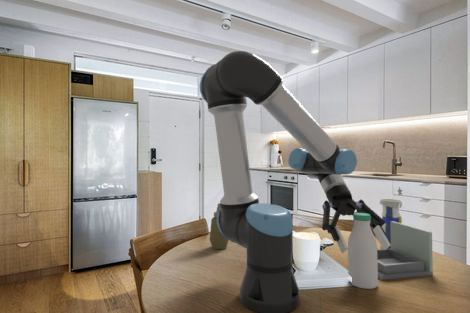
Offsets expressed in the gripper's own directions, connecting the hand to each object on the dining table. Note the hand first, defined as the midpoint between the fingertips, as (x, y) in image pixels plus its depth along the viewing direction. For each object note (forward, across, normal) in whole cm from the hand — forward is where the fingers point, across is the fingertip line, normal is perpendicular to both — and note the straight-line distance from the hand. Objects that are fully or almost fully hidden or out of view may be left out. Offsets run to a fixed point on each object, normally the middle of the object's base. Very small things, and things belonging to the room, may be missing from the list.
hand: (366, 249), depth 77 cm
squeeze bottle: (-23, +36, -38) cm, 57 cm away
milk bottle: (+6, 0, -8) cm, 10 cm away
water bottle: (-12, -33, -27) cm, 44 cm away
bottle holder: (0, -16, -14) cm, 21 cm away
